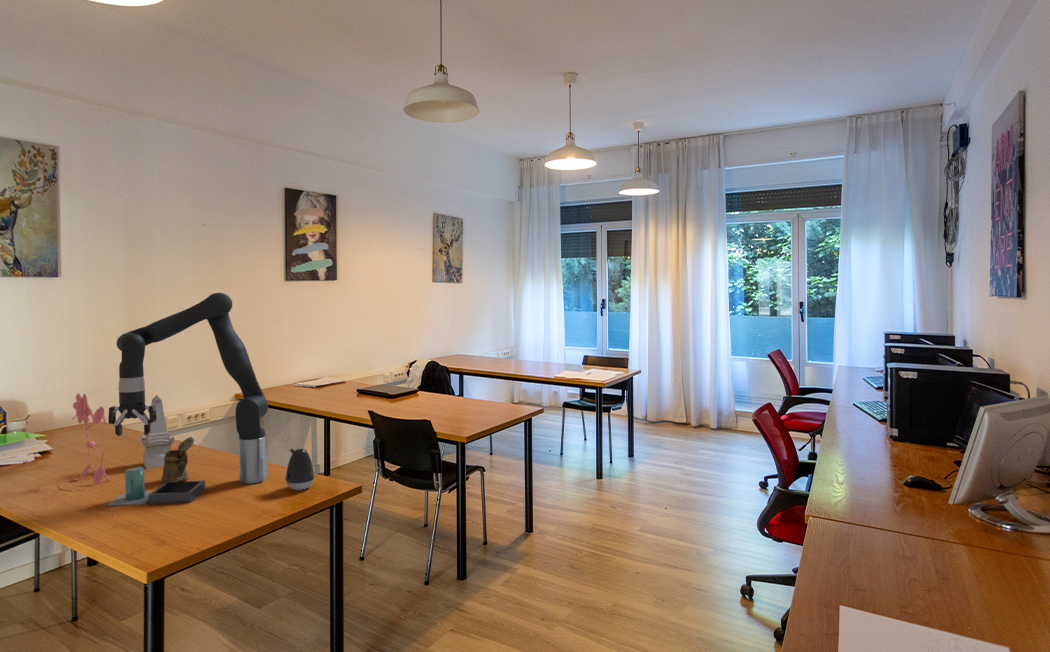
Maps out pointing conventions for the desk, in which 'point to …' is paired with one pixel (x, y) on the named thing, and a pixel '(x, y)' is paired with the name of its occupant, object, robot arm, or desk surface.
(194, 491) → the dark grey rectangular frame
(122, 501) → the slate grey mat
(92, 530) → the desk surface
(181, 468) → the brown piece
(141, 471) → the glazed jug
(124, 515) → the desk surface
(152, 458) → the miniature monument
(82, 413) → the figurine
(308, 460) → the grey egg-shaped device
